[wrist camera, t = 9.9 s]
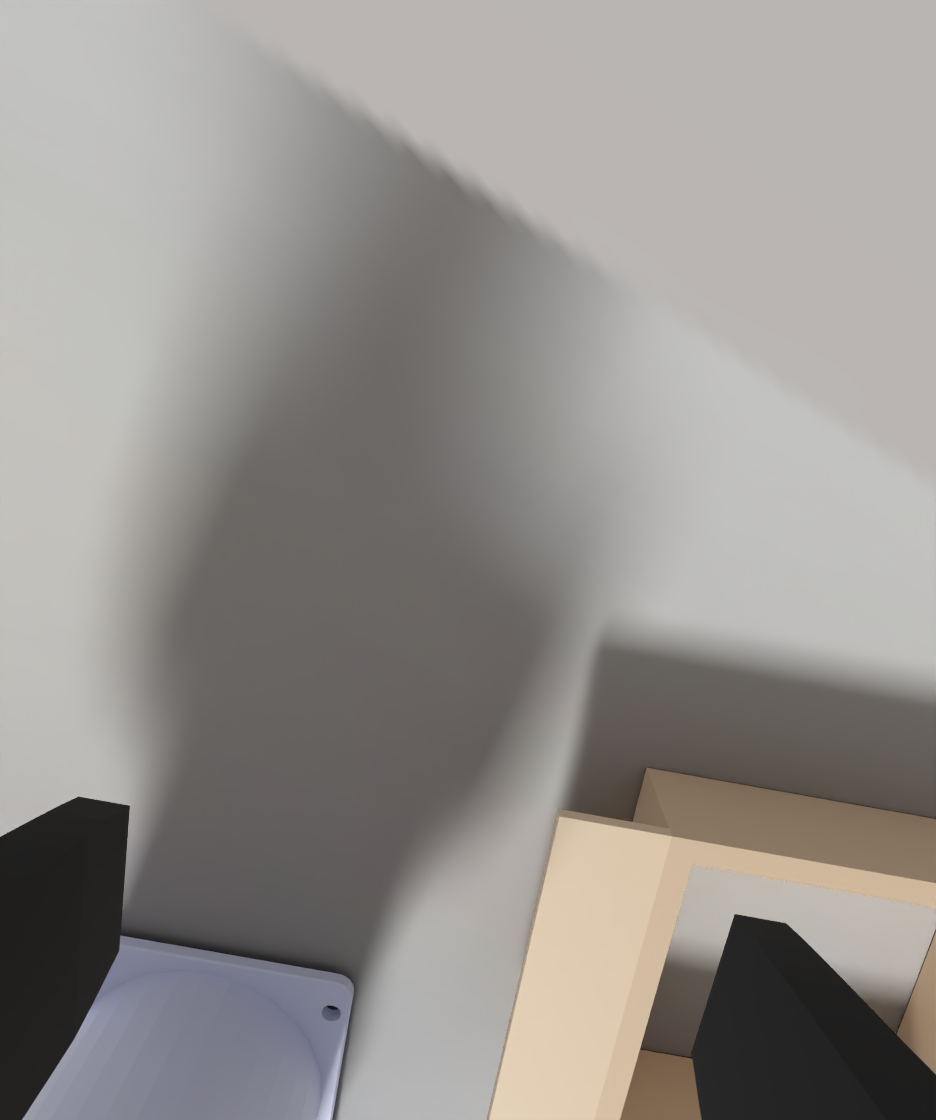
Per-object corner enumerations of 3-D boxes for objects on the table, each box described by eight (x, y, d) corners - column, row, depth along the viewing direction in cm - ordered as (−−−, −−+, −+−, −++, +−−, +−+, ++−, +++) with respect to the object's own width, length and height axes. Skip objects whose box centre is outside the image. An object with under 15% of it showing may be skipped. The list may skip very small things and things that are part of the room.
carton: (975, 1125, 22) (1047, 1239, 19) (485, 1040, 22) (483, 1142, 19) (1094, 847, 20) (1196, 929, 17) (550, 750, 20) (559, 816, 17)
